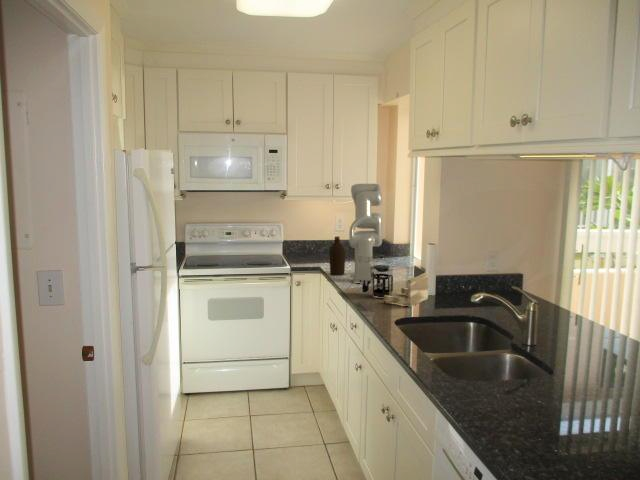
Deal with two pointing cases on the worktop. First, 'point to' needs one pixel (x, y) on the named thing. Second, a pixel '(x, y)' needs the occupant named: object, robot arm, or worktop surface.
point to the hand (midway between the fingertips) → (365, 291)
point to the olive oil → (337, 258)
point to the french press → (382, 285)
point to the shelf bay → (412, 291)
